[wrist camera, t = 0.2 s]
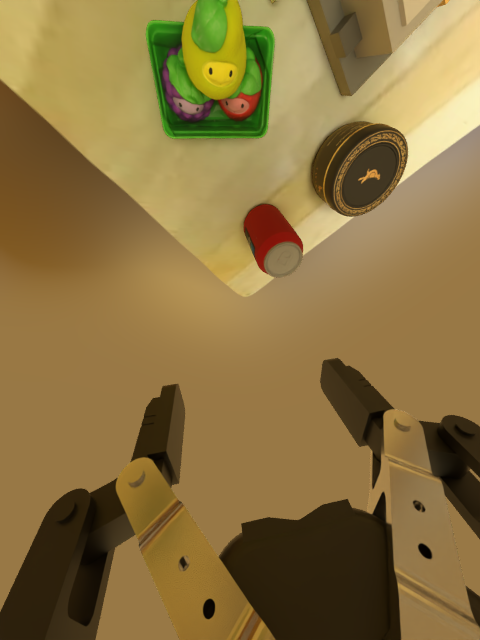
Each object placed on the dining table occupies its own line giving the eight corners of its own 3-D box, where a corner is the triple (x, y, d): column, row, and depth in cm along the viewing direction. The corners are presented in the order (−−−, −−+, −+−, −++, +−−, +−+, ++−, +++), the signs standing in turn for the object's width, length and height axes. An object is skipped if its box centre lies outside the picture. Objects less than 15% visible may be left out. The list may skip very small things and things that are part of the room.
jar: (300, 148, 30) (324, 161, 25) (372, 99, 28) (415, 103, 23) (316, 211, 38) (337, 231, 32) (375, 176, 35) (407, 192, 30)
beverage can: (236, 235, 38) (251, 275, 30) (253, 195, 34) (275, 230, 26) (269, 246, 41) (290, 286, 33) (288, 210, 37) (317, 246, 29)
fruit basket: (167, 132, 27) (161, 152, 19) (144, 7, 20) (123, -36, 13) (257, 131, 28) (284, 149, 21) (263, 15, 22) (306, -20, 14)
